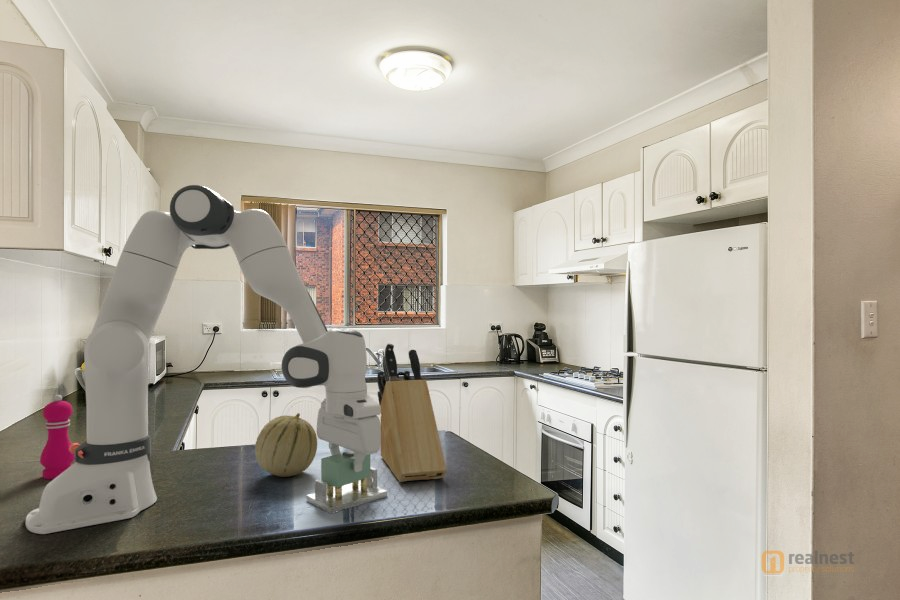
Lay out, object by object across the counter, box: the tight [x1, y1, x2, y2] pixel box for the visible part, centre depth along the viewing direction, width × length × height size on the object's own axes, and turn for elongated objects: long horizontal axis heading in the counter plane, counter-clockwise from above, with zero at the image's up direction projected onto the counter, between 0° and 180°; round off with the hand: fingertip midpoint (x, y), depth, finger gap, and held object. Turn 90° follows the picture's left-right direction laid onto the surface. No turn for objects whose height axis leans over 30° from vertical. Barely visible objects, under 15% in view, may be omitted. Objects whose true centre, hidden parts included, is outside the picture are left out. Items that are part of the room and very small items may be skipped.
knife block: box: [376, 343, 447, 483], centre depth 142 cm, size 11×35×31 cm, turn 18°
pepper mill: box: [39, 394, 75, 480], centre depth 135 cm, size 7×7×20 cm
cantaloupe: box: [254, 412, 318, 478], centre depth 134 cm, size 15×15×15 cm
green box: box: [320, 450, 371, 488], centre depth 117 cm, size 9×6×6 cm, turn 140°
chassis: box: [305, 466, 388, 514], centre depth 117 cm, size 14×10×5 cm
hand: (346, 466), depth 117 cm, fingers open, 6 cm apart
